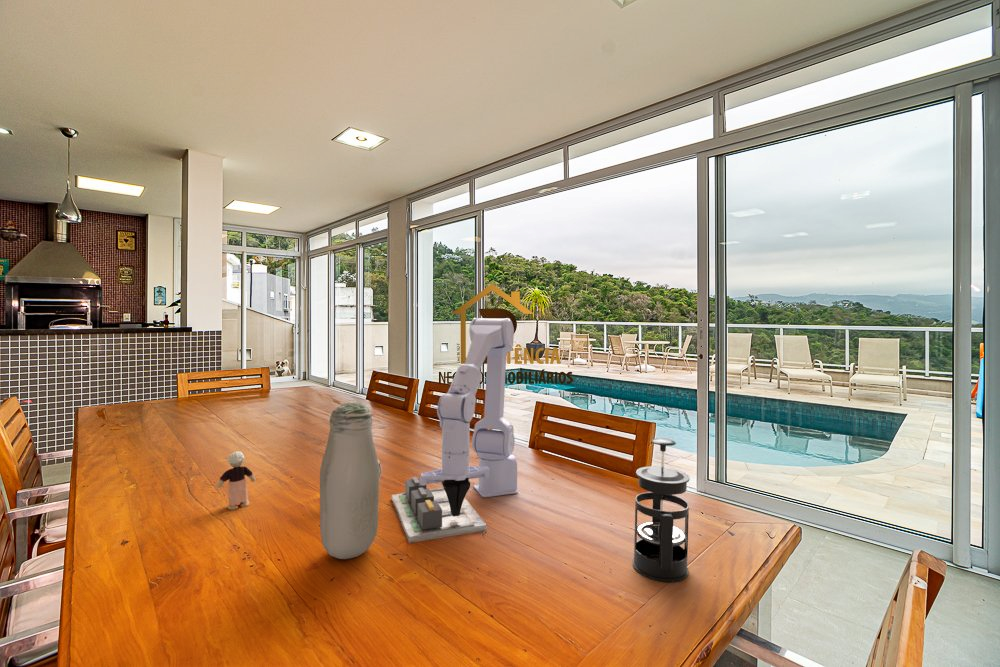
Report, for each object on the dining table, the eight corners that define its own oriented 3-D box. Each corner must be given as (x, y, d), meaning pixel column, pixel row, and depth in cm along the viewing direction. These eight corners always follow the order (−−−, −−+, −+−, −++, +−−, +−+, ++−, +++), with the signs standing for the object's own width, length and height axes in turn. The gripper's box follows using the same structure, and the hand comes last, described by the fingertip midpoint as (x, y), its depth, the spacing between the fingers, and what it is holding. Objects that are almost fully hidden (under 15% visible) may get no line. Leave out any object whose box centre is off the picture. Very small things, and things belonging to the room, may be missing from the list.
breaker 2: (428, 503, 107) (428, 485, 107) (433, 512, 102) (433, 493, 102) (411, 506, 105) (411, 488, 105) (415, 514, 101) (415, 496, 100)
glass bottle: (346, 574, 80) (347, 411, 79) (309, 557, 85) (309, 404, 84) (389, 550, 88) (390, 402, 87) (352, 536, 94) (352, 397, 93)
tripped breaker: (436, 516, 100) (436, 497, 100) (441, 526, 95) (442, 506, 95) (417, 519, 98) (417, 500, 98) (422, 529, 94) (422, 509, 93)
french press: (629, 550, 89) (632, 431, 89) (681, 555, 88) (684, 433, 87) (636, 584, 78) (639, 447, 77) (696, 591, 76) (700, 451, 75)
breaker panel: (455, 491, 118) (455, 485, 118) (486, 530, 97) (486, 523, 97) (391, 499, 113) (391, 493, 113) (408, 542, 91) (408, 535, 91)
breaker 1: (421, 492, 114) (422, 475, 114) (426, 499, 109) (426, 482, 109) (405, 494, 112) (405, 477, 112) (409, 501, 108) (409, 484, 107)
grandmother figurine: (249, 499, 112) (248, 446, 111) (257, 503, 109) (257, 449, 109) (214, 510, 105) (213, 454, 105) (222, 514, 103) (222, 457, 103)
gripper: (425, 459, 92) (425, 527, 92) (494, 452, 97) (494, 516, 98) (418, 449, 98) (418, 513, 99) (483, 443, 104) (483, 504, 104)
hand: (455, 514), depth 99 cm, fingers closed
